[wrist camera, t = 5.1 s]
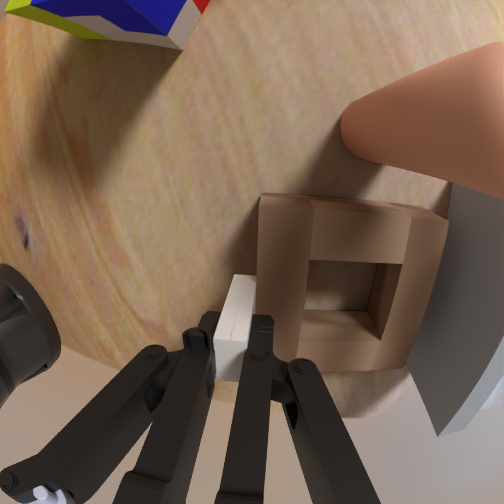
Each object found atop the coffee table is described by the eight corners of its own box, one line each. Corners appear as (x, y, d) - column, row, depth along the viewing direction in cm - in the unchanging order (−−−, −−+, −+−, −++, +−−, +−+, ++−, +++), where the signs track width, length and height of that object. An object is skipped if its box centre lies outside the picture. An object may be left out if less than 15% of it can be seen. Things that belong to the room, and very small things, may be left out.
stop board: (403, 359, 23) (437, 437, 14) (452, 173, 17) (545, 203, 8) (427, 356, 23) (463, 428, 14) (477, 179, 17) (564, 211, 7)
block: (256, 337, 23) (253, 370, 19) (262, 192, 19) (258, 205, 15) (389, 338, 22) (402, 367, 19) (421, 206, 18) (449, 221, 14)
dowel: (338, 157, 18) (469, 194, 5) (340, 94, 16) (461, 14, 3) (397, 165, 17) (554, 218, 4) (399, 105, 16) (556, 81, 3)
